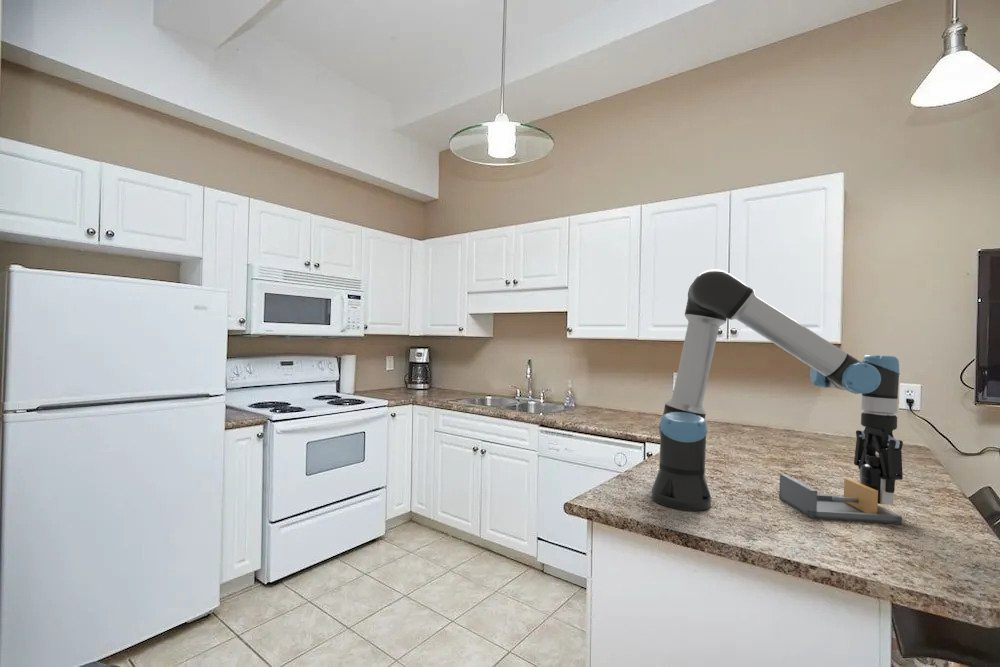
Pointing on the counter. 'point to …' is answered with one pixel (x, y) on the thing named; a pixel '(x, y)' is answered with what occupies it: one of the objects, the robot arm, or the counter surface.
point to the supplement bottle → (872, 473)
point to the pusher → (859, 496)
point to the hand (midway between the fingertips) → (875, 499)
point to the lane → (827, 504)
